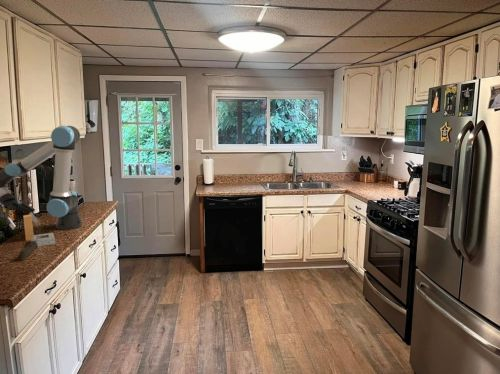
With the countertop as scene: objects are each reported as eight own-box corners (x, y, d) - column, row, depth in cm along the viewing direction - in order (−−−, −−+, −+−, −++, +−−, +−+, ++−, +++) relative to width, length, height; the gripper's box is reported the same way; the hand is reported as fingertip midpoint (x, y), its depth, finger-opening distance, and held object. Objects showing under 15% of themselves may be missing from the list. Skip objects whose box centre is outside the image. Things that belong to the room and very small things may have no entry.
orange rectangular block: (33, 237, 219) (31, 214, 216) (34, 239, 215) (31, 216, 213) (25, 238, 217) (23, 215, 214) (26, 240, 213) (23, 216, 211)
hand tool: (29, 249, 200) (28, 240, 200) (37, 248, 201) (36, 240, 200) (15, 262, 182) (14, 253, 181) (24, 261, 183) (23, 252, 182)
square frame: (53, 238, 218) (52, 232, 217) (55, 243, 209) (54, 237, 208) (31, 241, 212) (30, 235, 211) (32, 247, 203) (32, 240, 202)
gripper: (22, 197, 230) (42, 223, 227) (-20, 205, 208) (1, 234, 205) (27, 189, 227) (47, 215, 224) (-15, 196, 205) (7, 226, 202)
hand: (25, 224), depth 215 cm, fingers open, 13 cm apart
